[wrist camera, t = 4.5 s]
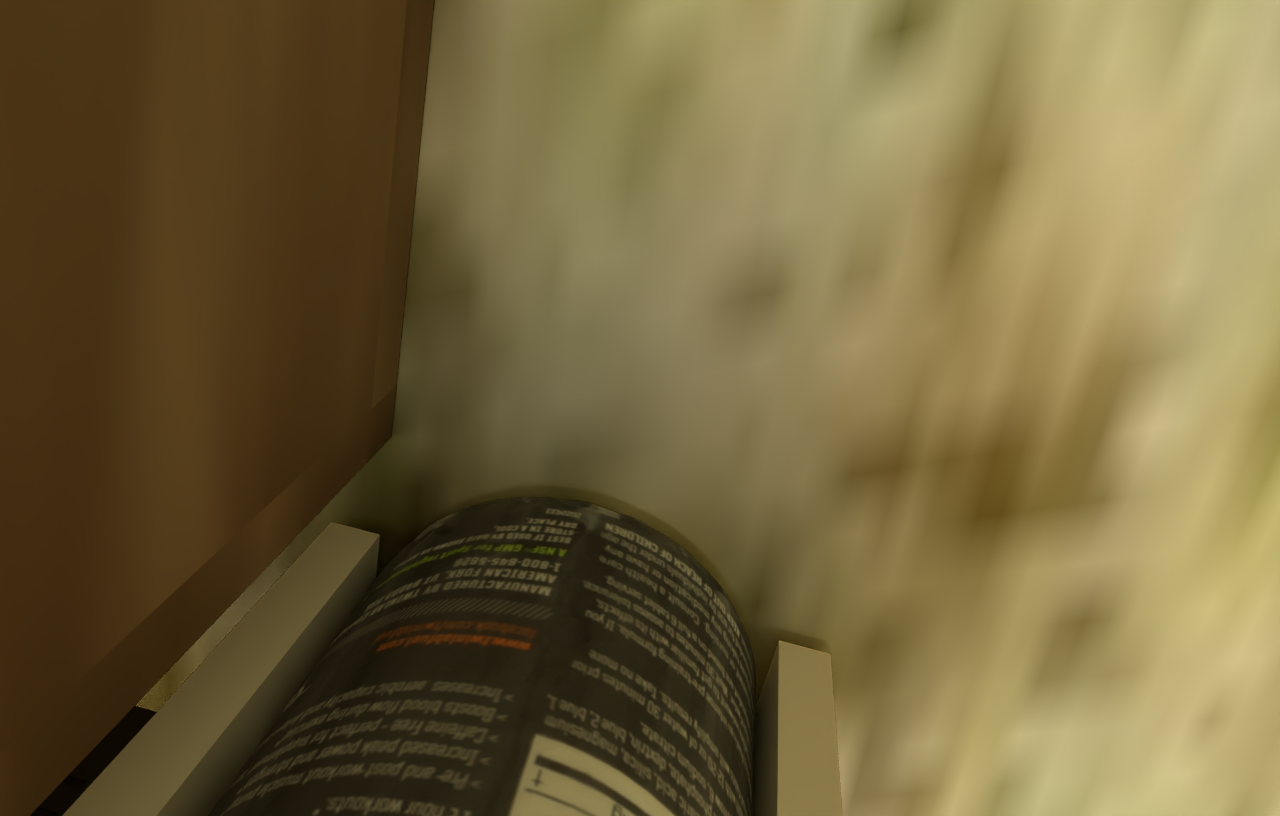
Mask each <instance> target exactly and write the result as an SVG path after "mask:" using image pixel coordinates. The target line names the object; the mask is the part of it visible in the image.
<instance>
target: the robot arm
mask: <svg viewBox="0 0 1280 816" xmlns="http://www.w3.org/2000/svg"><path fill="white" fill-rule="evenodd" d="M379 541H380V535H379V534H375V533H372V532H368V531H364V530H360V529H357V528H353V527H349V526H345V525H341V524H338V523H334V522H330V524H329V525H328V526H327V527H326V528H325V529H324V530H323V531H322V532H321V533H320V534H319V536H318V537H317V538H316V539H315V540H314V541H313V542H312V543H311V544H310V545H309V546H308V548H307V549H306V550H305V551H304V552H303V553H302V554H301V555H300V556H299V557H298V559H297V560H296V561H295V562H294V563H293V564H292V565H291V566H290V567H289V568H288V569H287V571H286V572H285V573H284V574H283V575H282V576H281V577H280V578H279V579H278V580H277V581H276V583H275V584H274V585H273V586H272V587H271V588H270V589H269V590H268V591H267V592H266V594H265V595H264V596H263V597H262V598H261V599H260V600H259V601H258V602H257V603H256V604H255V606H254V607H253V608H252V609H251V610H250V611H249V612H248V613H247V614H246V615H245V616H244V618H243V619H242V620H241V621H240V622H239V623H238V624H237V625H236V626H235V627H234V628H233V630H232V631H231V632H230V633H229V634H228V635H227V636H226V637H225V638H224V639H223V641H222V642H221V643H220V644H219V645H218V646H217V647H216V648H215V649H214V650H213V651H212V653H211V654H210V655H209V656H208V657H207V658H206V659H205V660H204V661H203V662H202V663H201V665H200V666H199V667H198V668H197V669H196V670H195V671H194V672H193V673H192V674H191V676H190V677H189V678H188V679H187V680H186V681H185V682H184V683H183V684H182V685H181V686H180V688H179V689H178V690H177V691H176V692H175V693H174V694H173V695H172V696H171V697H170V698H169V700H168V701H167V702H166V703H165V704H164V705H163V706H162V707H161V708H160V709H159V711H158V712H155V711H151V710H148V709H144V708H141V707H137V706H134V707H133V708H132V709H131V710H130V711H129V712H128V713H127V714H126V715H125V716H124V717H123V718H122V719H121V721H120V722H119V723H118V724H117V725H116V726H115V727H114V728H113V729H112V730H111V731H110V732H109V733H108V734H107V735H106V736H105V737H104V738H103V739H102V740H101V741H100V742H99V744H98V745H97V746H96V747H95V748H94V749H93V750H92V751H91V752H90V753H89V754H88V755H87V756H86V757H85V758H84V759H83V760H82V761H81V762H80V763H79V764H78V766H77V767H76V768H75V769H74V770H73V771H72V772H71V773H70V774H69V775H68V776H67V777H66V778H65V779H64V780H63V781H62V782H61V783H60V784H59V785H58V786H57V788H56V789H55V790H54V791H53V792H52V793H51V794H50V795H49V796H48V797H47V798H46V799H45V800H44V801H43V802H42V803H41V804H40V805H39V806H38V807H37V808H36V809H35V811H34V812H33V813H32V814H31V815H30V816H208V815H209V813H210V812H211V811H212V809H213V808H214V806H215V805H216V804H217V802H218V801H219V800H220V798H221V797H222V796H223V795H224V794H225V792H226V791H227V790H228V788H229V787H230V785H231V784H232V782H233V781H234V779H235V778H236V776H237V774H238V773H239V771H240V770H241V769H242V767H243V766H244V765H245V763H246V762H247V760H248V759H249V758H250V757H251V755H252V754H253V753H254V752H255V750H256V749H257V748H258V746H259V744H260V742H261V740H262V739H263V738H264V736H265V735H266V734H267V732H268V731H269V730H270V728H271V727H272V726H273V724H274V723H275V722H276V720H277V719H278V717H279V716H280V714H281V713H282V711H283V710H284V708H285V707H286V706H287V704H288V703H289V701H290V700H291V699H292V697H293V696H294V694H295V693H296V691H297V690H298V689H299V687H300V686H301V684H302V683H303V682H304V680H305V679H306V678H307V676H308V675H309V673H310V672H311V671H312V670H313V668H314V667H315V665H316V664H317V662H318V661H319V659H320V657H321V656H322V655H323V653H324V652H325V651H326V650H327V648H328V647H329V646H330V644H331V643H332V641H333V640H334V638H335V637H336V635H337V633H338V632H339V630H340V629H341V628H342V626H343V625H344V624H345V623H346V621H347V620H348V618H349V617H350V615H351V613H352V612H353V610H354V609H355V608H356V606H357V605H358V604H359V603H360V602H361V600H362V598H363V597H364V595H365V593H366V592H367V590H368V588H369V587H370V585H371V584H372V583H373V582H374V580H375V579H376V573H377V562H378V552H379ZM754 747H755V752H754V761H753V798H752V808H753V816H843V814H842V800H841V787H840V773H839V760H838V746H837V732H836V719H835V705H834V692H833V678H832V664H831V654H829V653H825V652H822V651H818V650H814V649H810V648H806V647H803V646H799V645H795V644H791V643H787V642H784V641H780V640H779V641H778V644H777V647H776V650H775V653H774V656H773V659H772V662H771V665H770V668H769V671H768V673H767V676H766V679H765V682H764V685H763V688H762V691H761V694H760V697H759V700H758V703H757V712H756V717H755V736H754Z"/></svg>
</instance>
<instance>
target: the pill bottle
mask: <svg viewBox="0 0 1280 816" xmlns="http://www.w3.org/2000/svg"><path fill="white" fill-rule="evenodd" d="M756 712H757V705H756V675H755V664H754V658H753V654H752V650H751V647H750V643H749V639H748V637H747V635H746V632H745V630H744V628H743V626H742V624H741V621H740V619H739V617H738V615H737V613H736V610H735V608H734V607H733V605H732V604H731V602H730V600H729V598H728V596H727V594H726V593H725V591H724V590H723V588H722V587H721V586H720V585H719V583H718V582H717V581H716V580H715V579H714V578H713V577H712V576H711V575H710V573H709V572H708V571H707V570H706V569H705V568H704V567H703V566H702V565H701V564H700V563H699V562H698V561H697V560H696V559H695V558H694V557H693V556H692V555H691V554H690V553H688V552H687V551H686V550H684V549H683V548H681V547H680V546H679V545H677V544H676V543H675V542H673V541H672V540H671V539H669V538H668V537H666V536H665V535H663V534H662V533H660V532H658V531H656V530H655V529H653V528H651V527H649V526H647V525H646V524H644V523H642V522H640V521H638V520H636V519H634V518H632V517H629V516H626V515H623V514H620V513H617V512H614V511H611V510H608V509H606V508H603V507H600V506H597V505H594V504H591V503H587V502H582V501H575V500H559V499H554V498H547V497H518V498H511V499H504V500H496V501H492V502H487V503H483V504H479V505H474V506H470V507H468V508H465V509H462V510H460V511H458V512H455V513H453V514H451V515H448V516H446V517H444V518H441V519H439V520H437V521H435V522H433V523H432V524H430V525H428V526H427V527H426V528H425V529H424V530H423V531H422V532H421V533H420V534H419V535H418V536H417V537H416V538H415V539H414V540H413V541H412V542H410V543H409V544H408V545H407V546H406V547H404V548H403V549H402V550H401V551H400V552H399V553H398V554H397V555H396V556H395V557H394V558H393V559H392V560H391V561H390V562H389V563H388V564H387V565H386V567H385V568H384V569H383V570H382V572H381V573H380V574H379V575H378V577H377V578H376V579H375V580H374V582H373V583H372V584H371V585H370V587H369V588H368V590H367V592H366V593H365V595H364V597H363V598H362V600H361V602H360V603H359V604H358V605H357V606H356V608H355V609H354V610H353V612H352V613H351V615H350V617H349V618H348V620H347V621H346V623H345V624H344V625H343V626H342V628H341V629H340V630H339V632H338V633H337V635H336V637H335V638H334V640H333V641H332V643H331V644H330V646H329V647H328V648H327V650H326V651H325V652H324V653H323V655H322V656H321V657H320V659H319V661H318V662H317V664H316V665H315V667H314V668H313V670H312V671H311V672H310V673H309V675H308V676H307V678H306V679H305V680H304V682H303V683H302V684H301V686H300V687H299V689H298V690H297V691H296V693H295V694H294V696H293V697H292V699H291V700H290V701H289V703H288V704H287V706H286V707H285V708H284V710H283V711H282V713H281V714H280V716H279V717H278V719H277V720H276V722H275V723H274V724H273V726H272V727H271V728H270V730H269V731H268V732H267V734H266V735H265V736H264V738H263V739H262V740H261V742H260V744H259V746H258V748H257V749H256V750H255V752H254V753H253V754H252V755H251V757H250V758H249V759H248V760H247V762H246V763H245V765H244V766H243V767H242V769H241V770H240V771H239V773H238V774H237V776H236V778H235V779H234V781H233V782H232V784H231V785H230V787H229V788H228V790H227V791H226V792H225V794H224V795H223V796H222V797H221V798H220V800H219V801H218V802H217V804H216V805H215V806H214V808H213V809H212V811H211V812H210V813H209V815H208V816H753V808H752V798H753V761H754V752H755V747H754V736H755V717H756Z"/></svg>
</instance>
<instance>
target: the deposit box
mask: <svg viewBox="0 0 1280 816" xmlns="http://www.w3.org/2000/svg"><path fill="white" fill-rule="evenodd" d="M433 6H434V0H0V816H30V815H31V814H32V813H33V812H34V811H35V809H36V808H37V807H38V806H39V805H40V804H41V803H42V802H43V801H44V800H45V799H46V798H47V797H48V796H49V795H50V794H51V793H52V792H53V791H54V790H55V789H56V788H57V786H58V785H59V784H60V783H61V782H62V781H63V780H64V779H65V778H66V777H67V776H68V775H69V774H70V773H71V772H72V771H73V770H74V769H75V768H76V767H77V766H78V764H79V763H80V762H81V761H82V760H83V759H84V758H85V757H86V756H87V755H88V754H89V753H90V752H91V751H92V750H93V749H94V748H95V747H96V746H97V745H98V744H99V742H100V741H101V740H102V739H103V738H104V737H105V736H106V735H107V734H108V733H109V732H110V731H111V730H112V729H113V728H114V727H115V726H116V725H117V724H118V723H119V722H120V721H121V719H122V718H123V717H124V716H125V715H126V714H127V713H128V712H129V711H130V710H131V709H132V708H133V707H134V706H135V705H136V704H137V703H138V702H139V701H140V700H141V699H142V697H143V696H144V695H145V694H146V693H147V692H148V691H149V690H150V689H151V688H152V687H153V686H154V685H155V684H156V683H157V682H158V681H159V680H160V679H161V678H162V677H163V675H164V674H165V673H166V672H167V671H168V670H169V669H170V668H171V667H172V666H173V665H174V664H175V663H176V662H177V661H178V660H179V659H180V658H181V657H182V656H183V655H184V654H185V652H186V651H187V650H188V649H189V648H190V647H191V646H192V645H193V644H194V643H195V642H196V641H197V640H198V639H199V638H200V637H201V636H202V635H203V634H204V633H205V632H206V630H207V629H208V628H209V627H210V626H211V625H212V624H213V623H214V622H215V621H216V620H217V619H218V618H219V617H220V616H221V615H222V614H223V613H224V612H225V611H226V610H227V609H228V607H229V606H230V605H231V604H232V603H233V602H234V601H235V600H236V599H237V598H238V597H239V596H240V595H241V594H242V593H243V592H244V591H245V590H246V589H247V588H248V587H249V585H250V584H251V583H252V582H253V581H254V580H255V579H256V578H257V577H258V576H259V575H260V574H261V573H262V572H263V571H264V570H265V569H266V568H267V567H268V566H269V565H270V563H271V562H272V561H273V560H274V559H275V558H276V557H277V556H278V555H279V554H280V553H281V552H282V551H283V550H284V549H285V548H286V547H287V546H288V545H289V544H290V543H291V542H292V540H293V539H294V538H295V537H296V536H297V535H298V534H299V533H300V532H301V531H302V530H303V529H304V528H305V527H306V526H307V525H308V524H309V523H310V522H311V521H312V520H313V518H314V517H315V516H316V515H317V514H318V513H319V512H320V511H321V510H322V509H323V508H324V507H325V506H326V505H327V504H328V503H329V502H330V501H331V500H332V499H333V498H334V497H335V495H336V494H337V493H338V492H339V491H340V490H341V489H342V488H343V487H344V486H345V485H346V484H347V483H348V482H349V481H350V480H351V479H352V478H353V477H354V476H355V475H356V473H357V472H358V471H359V470H360V469H361V468H362V467H363V466H364V465H365V464H366V463H367V462H368V461H369V460H370V459H371V458H372V457H373V456H374V455H375V454H376V453H377V451H378V450H379V449H380V448H381V447H382V446H383V445H384V444H385V443H386V442H387V441H388V440H389V439H390V438H391V437H392V426H393V416H394V406H395V396H396V385H397V375H398V365H399V355H400V344H401V334H402V324H403V314H404V303H405V293H406V283H407V273H408V262H409V252H410V242H411V232H412V221H413V211H414V201H415V191H416V180H417V170H418V160H419V150H420V140H421V129H422V119H423V109H424V99H425V88H426V78H427V68H428V58H429V47H430V37H431V27H432V17H433Z"/></svg>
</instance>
